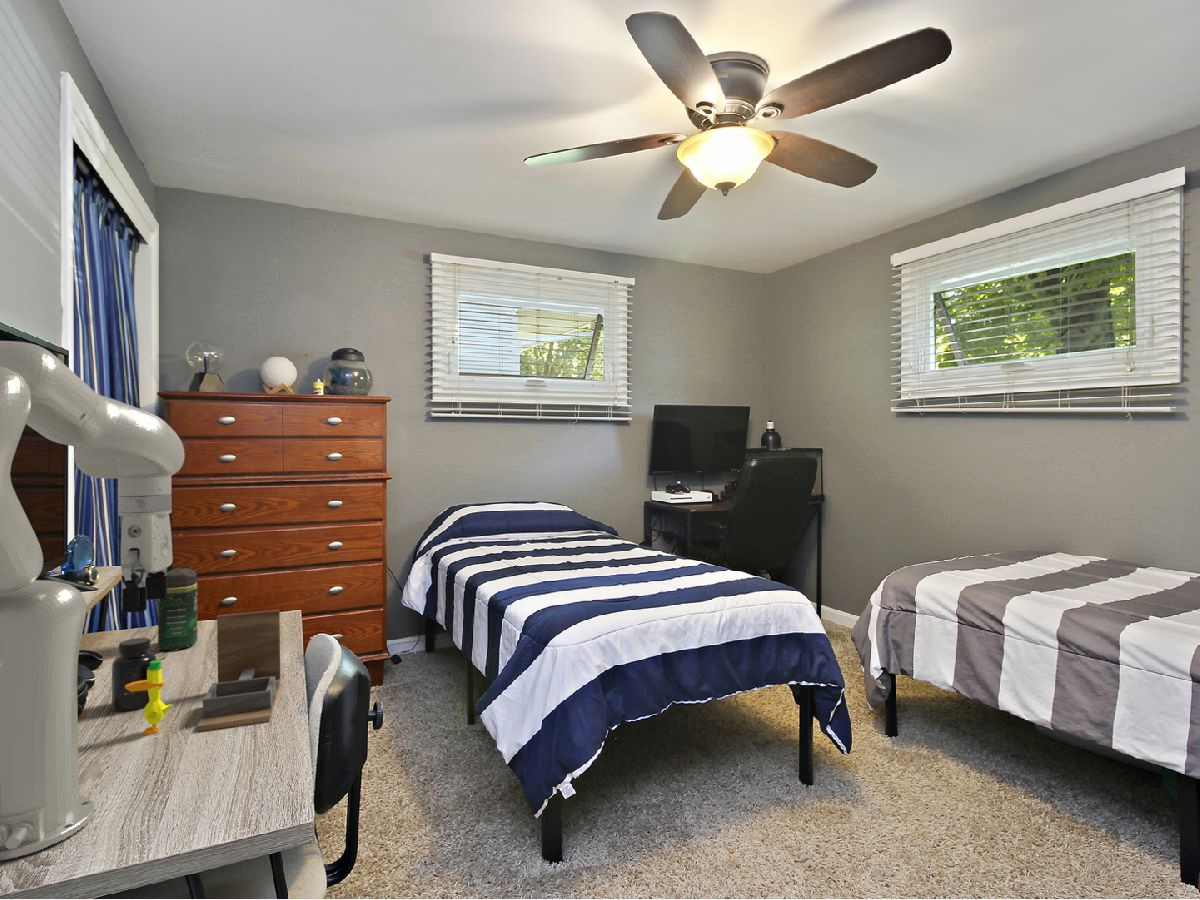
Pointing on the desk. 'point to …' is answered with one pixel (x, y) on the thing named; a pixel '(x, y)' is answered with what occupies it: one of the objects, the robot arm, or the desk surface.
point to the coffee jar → (178, 611)
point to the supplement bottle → (131, 674)
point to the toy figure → (152, 696)
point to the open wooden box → (244, 671)
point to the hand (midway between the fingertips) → (146, 604)
